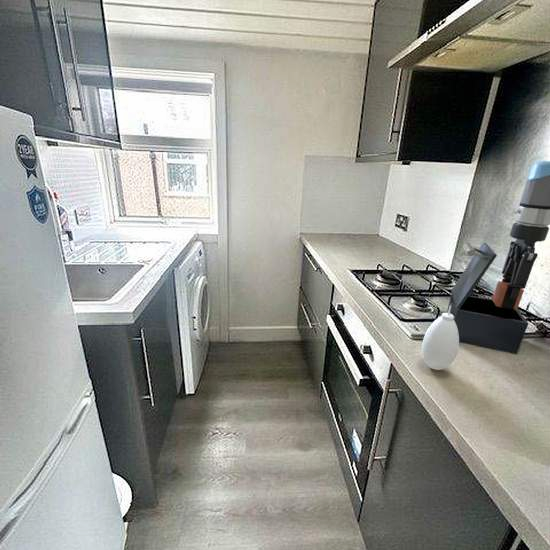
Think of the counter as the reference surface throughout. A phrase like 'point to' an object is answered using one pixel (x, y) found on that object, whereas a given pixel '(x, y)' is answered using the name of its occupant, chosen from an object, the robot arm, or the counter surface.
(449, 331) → the white air blower bulb
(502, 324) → the dark grey box
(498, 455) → the counter surface
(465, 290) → the box lid
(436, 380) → the counter surface
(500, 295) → the terracotta toy cube
